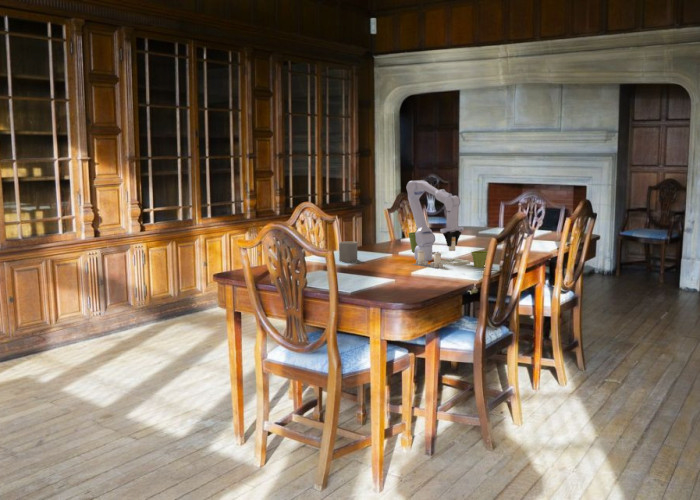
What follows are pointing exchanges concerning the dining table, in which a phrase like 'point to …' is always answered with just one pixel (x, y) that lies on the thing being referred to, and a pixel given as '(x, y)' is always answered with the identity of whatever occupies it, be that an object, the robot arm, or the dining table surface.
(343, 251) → the grey block
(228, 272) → the dining table surface
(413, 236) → the plant pot
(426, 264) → the fuse holder
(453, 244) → the cylinder
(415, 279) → the dining table surface
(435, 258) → the fuse right
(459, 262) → the tray
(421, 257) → the fuse left
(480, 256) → the plant pot
